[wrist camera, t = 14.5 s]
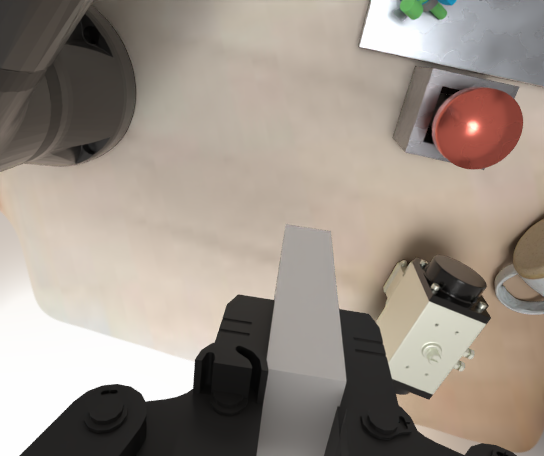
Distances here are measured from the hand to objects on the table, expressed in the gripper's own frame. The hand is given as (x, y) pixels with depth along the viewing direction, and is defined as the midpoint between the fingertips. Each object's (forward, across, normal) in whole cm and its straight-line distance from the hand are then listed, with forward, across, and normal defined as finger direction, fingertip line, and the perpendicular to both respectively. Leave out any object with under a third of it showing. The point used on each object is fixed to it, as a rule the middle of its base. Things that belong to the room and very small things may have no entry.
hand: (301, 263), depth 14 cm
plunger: (+24, -11, -3) cm, 26 cm away
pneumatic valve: (+25, -13, +14) cm, 31 cm away
